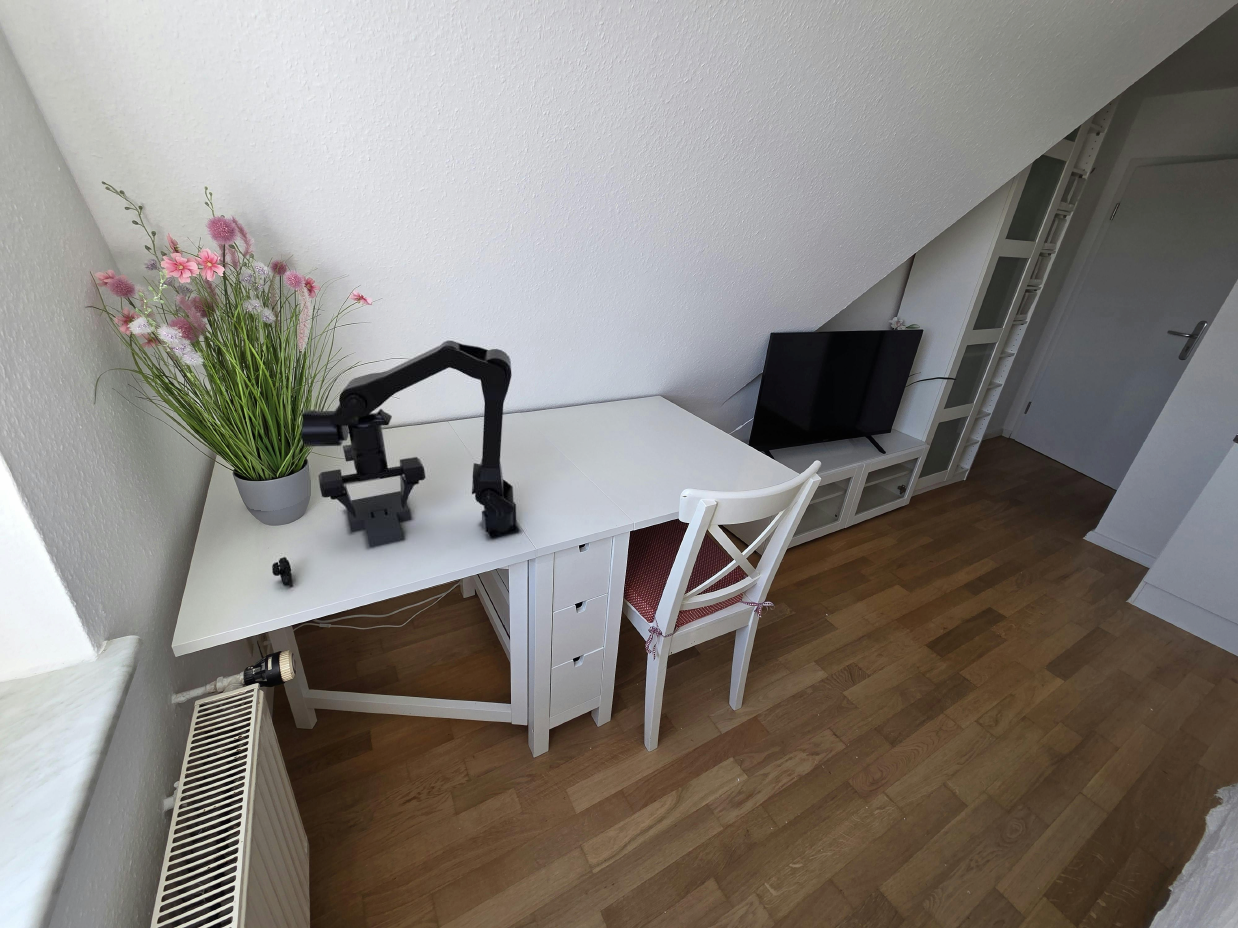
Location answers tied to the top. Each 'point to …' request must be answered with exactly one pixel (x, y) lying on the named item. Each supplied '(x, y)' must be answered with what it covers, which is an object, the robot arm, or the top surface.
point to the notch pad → (377, 509)
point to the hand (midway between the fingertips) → (379, 511)
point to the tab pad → (383, 529)
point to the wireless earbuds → (283, 571)
